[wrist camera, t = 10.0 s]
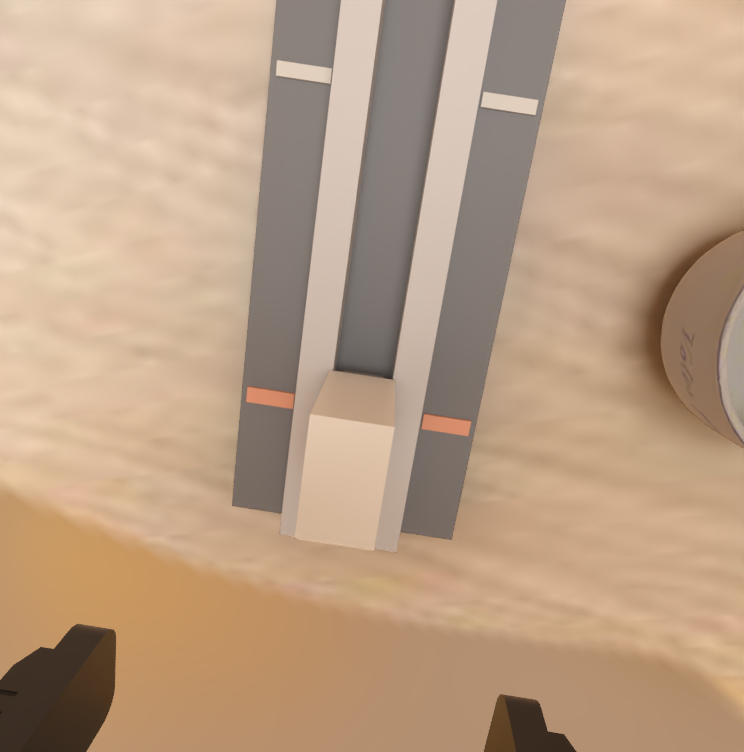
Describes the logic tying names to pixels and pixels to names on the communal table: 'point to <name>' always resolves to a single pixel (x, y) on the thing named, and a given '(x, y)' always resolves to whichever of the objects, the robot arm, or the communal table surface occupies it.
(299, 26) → the track
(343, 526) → the fader
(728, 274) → the teacup
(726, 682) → the communal table surface
